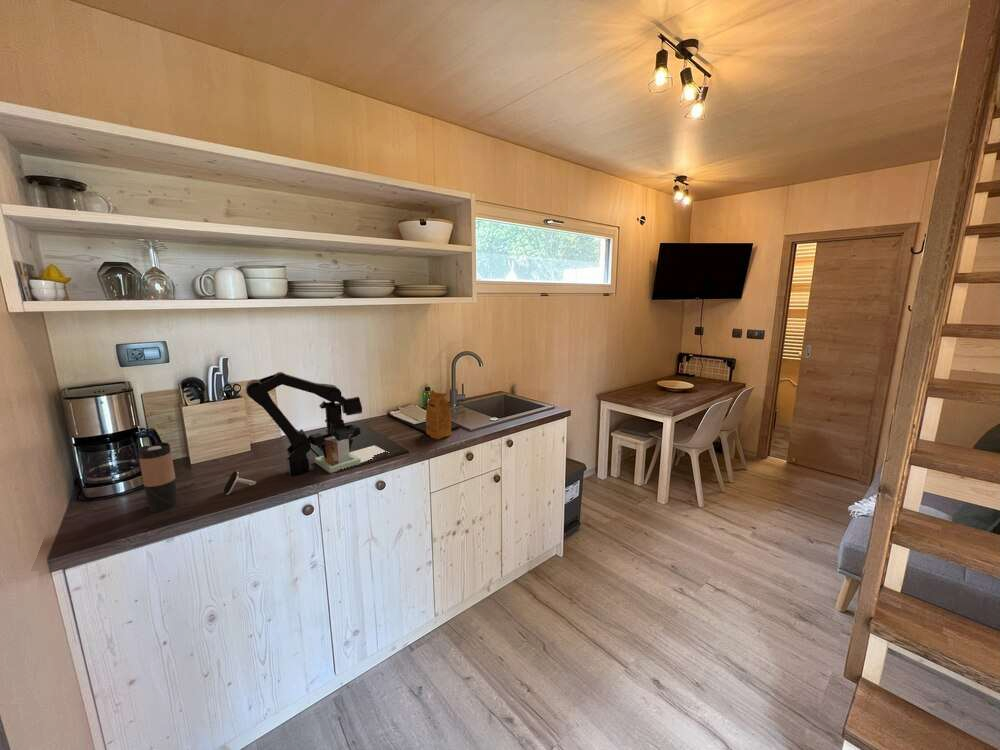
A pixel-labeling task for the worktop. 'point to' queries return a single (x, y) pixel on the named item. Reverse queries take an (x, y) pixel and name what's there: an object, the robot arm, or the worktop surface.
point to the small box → (337, 451)
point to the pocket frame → (334, 468)
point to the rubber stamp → (233, 480)
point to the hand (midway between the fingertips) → (337, 455)
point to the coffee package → (438, 416)
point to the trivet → (367, 453)
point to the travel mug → (158, 476)
